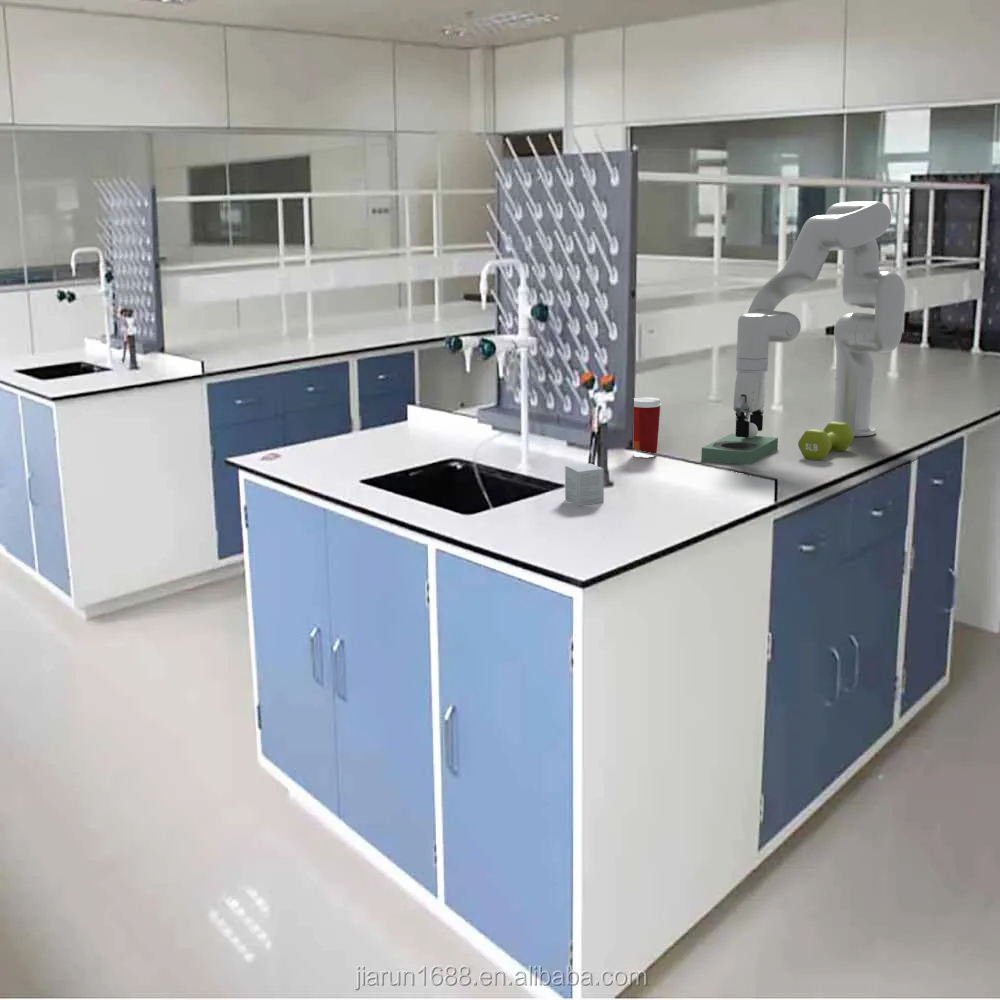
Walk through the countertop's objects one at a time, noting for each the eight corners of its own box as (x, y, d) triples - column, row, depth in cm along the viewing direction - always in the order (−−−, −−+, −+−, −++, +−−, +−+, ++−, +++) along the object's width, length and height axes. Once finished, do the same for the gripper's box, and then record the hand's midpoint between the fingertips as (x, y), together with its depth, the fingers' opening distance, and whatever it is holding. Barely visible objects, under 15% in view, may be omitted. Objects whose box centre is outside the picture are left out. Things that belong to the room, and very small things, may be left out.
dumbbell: (824, 447, 267) (826, 419, 265) (855, 451, 262) (857, 422, 260) (794, 458, 255) (796, 429, 254) (825, 463, 250) (827, 433, 248)
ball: (744, 436, 267) (744, 420, 266) (759, 437, 265) (760, 421, 264) (738, 439, 264) (739, 423, 263) (754, 440, 261) (754, 424, 260)
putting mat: (731, 445, 271) (731, 433, 271) (777, 449, 265) (778, 437, 264) (701, 460, 255) (701, 447, 254) (749, 465, 249) (750, 452, 248)
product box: (590, 496, 223) (591, 462, 221) (604, 503, 218) (604, 468, 216) (564, 499, 221) (564, 465, 219) (577, 506, 216) (577, 471, 214)
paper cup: (665, 454, 262) (667, 398, 258) (652, 460, 256) (653, 402, 252) (637, 451, 266) (638, 396, 262) (623, 457, 260) (623, 400, 256)
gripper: (749, 360, 268) (746, 426, 273) (724, 368, 254) (721, 438, 259) (778, 361, 264) (775, 429, 269) (754, 370, 250) (751, 441, 255)
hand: (749, 433), depth 264 cm, fingers open, 9 cm apart
